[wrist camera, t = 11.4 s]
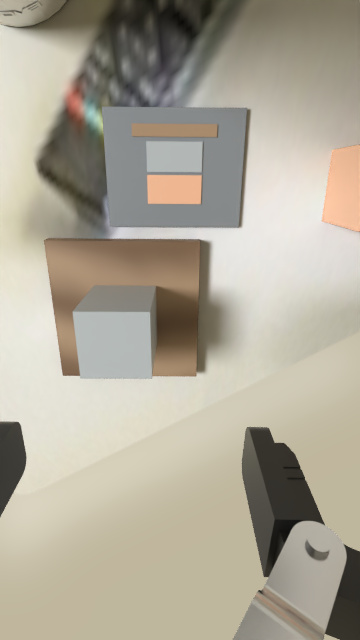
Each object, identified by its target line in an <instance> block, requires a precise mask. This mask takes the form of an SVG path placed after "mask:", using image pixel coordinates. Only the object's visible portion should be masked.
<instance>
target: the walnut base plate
mask: <svg viewBox="0 0 360 640" xmlns="http://www.w3.org/2000/svg"><path fill="white" fill-rule="evenodd" d="M44 244H45V251H46V258H47V265H48V272H49V279H50V287H51V294H52V301H53V308H54V315H55V322H56V329H57V336H58V344H59V351H60V358H61V365H62V372H63V376H80V370H79V362H78V353H77V345H76V337H75V328H74V320H73V310H74V309H75V308H76V307H77V306H78V304H79V303H80V302H81V301H82V299H83V298H84V297H85V296H86V295H87V293H88V292H89V291H90V290H91V288H92V287H93V286H94V285H124V286H156V309H157V346H156V353H155V361H154V368H153V375H152V376H196V368H197V334H198V300H199V266H200V240H198V239H66V238H48V239H46V240H44Z"/></svg>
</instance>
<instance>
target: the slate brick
mask: <svg viewBox="0 0 360 640" xmlns="http://www.w3.org/2000/svg"><path fill="white" fill-rule="evenodd" d="M73 320H74V328H75V337H76V345H77V353H78V362H79V370H80V378H95V379H152V375H153V368H154V361H155V353H156V346H157V309H156V286H124V285H94V286H93V287H92V288H91V290H90V291H89V292H88V293H87V295H86V296H85V297H84V298H83V299H82V301H81V302H80V303H79V304H78V306H77V307H76V308H75V309H74V310H73Z"/></svg>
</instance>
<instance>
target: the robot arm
mask: <svg viewBox="0 0 360 640" xmlns="http://www.w3.org/2000/svg"><path fill="white" fill-rule="evenodd" d="M66 1H67V0H0V24H3V25H9V26H16V27H22V26H30V25H35V24H37V23H40V22H42V21H44V20H47V19H48V18H50V17H51V16H52V15H54V14H55V13H56V12H57V11H59V10H60V9H61V7H62V6H63V5H64V3H65V2H66ZM25 466H26V452H25V446H24V441H23V436H22V430H21V426H20V424H19V422H0V516H1V514H2V513H3V511H4V509H5V507H6V505H7V503H8V501H9V499H10V497H11V495H12V494H13V492H14V490H15V488H16V486H17V484H18V482H19V481H20V479H21V477H22V475H23V473H24V470H25ZM242 475H243V481H244V485H245V490H246V495H247V500H248V505H249V509H250V514H251V518H252V523H253V528H254V533H255V537H256V542H257V547H258V551H259V556H260V561H261V565H262V570H263V575H264V577H269V578H268V580H267V582H266V584H265V586H264V588H263V589H262V591H260V590H259V591H258V592H257V593H256V595H255V597H254V598H253V600H252V602H251V604H250V606H249V608H248V610H247V612H246V614H245V616H244V618H243V620H242V622H241V624H240V626H239V628H238V630H237V632H236V634H235V636H234V638H233V640H323V639H324V634H327V635H330V636H332V637H335V638H337V639H340V640H360V552H359V551H357V550H354V549H352V548H350V547H348V546H346V545H344V544H343V543H342V541H341V540H340V538H339V537H338V536H337V535H336V534H335V533H334V532H333V531H332V530H331V529H330V528H328V527H326V526H325V524H324V522H323V520H322V517H321V515H320V513H319V510H318V508H317V505H316V503H315V501H314V498H313V496H312V494H311V491H310V489H309V486H308V484H307V482H306V481H305V477H304V475H303V472H302V470H301V469H300V465H299V463H298V460H297V458H296V456H295V454H294V453H293V452H292V451H291V450H290V449H289V447H287V445H286V444H284V443H274V440H273V438H272V435H271V432H270V430H269V428H267V427H264V428H263V427H247V429H246V433H245V441H244V449H243V458H242Z"/></svg>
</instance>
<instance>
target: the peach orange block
mask: <svg viewBox="0 0 360 640" xmlns="http://www.w3.org/2000/svg"><path fill="white" fill-rule="evenodd" d="M322 221H323V222H327V223H330V224H334V225H337V226H341V227H344V228H347V229H351V230H354V231H358V232H360V144H359V145H354V146H349V147H344V148H339V149H334V150H332V156H331V163H330V169H329V176H328V183H327V189H326V196H325V202H324V209H323V216H322Z"/></svg>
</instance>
